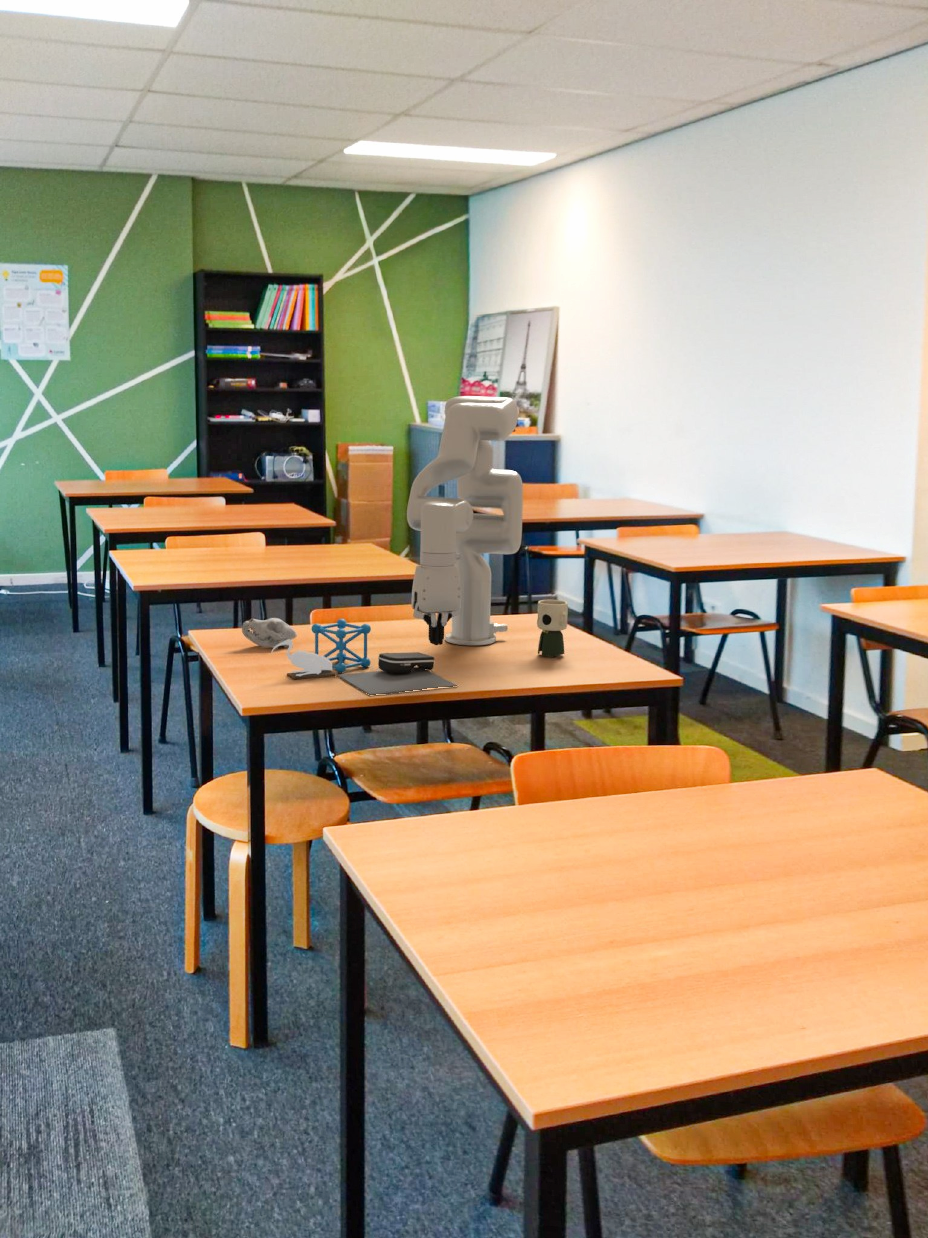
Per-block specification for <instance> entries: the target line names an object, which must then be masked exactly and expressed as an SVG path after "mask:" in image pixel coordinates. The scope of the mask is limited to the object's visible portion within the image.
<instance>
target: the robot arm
mask: <svg viewBox="0 0 928 1238" xmlns="http://www.w3.org/2000/svg"><path fill="white" fill-rule="evenodd" d="M444 415H445V417H444V422H443V423H444V424H443V429H442V432H441V439H440V442H439V443H440V444H439V447H438V448H439V449H438V454H437V457H436V458H434V459H433V460H432V461H430V462H428V463H427V465H426V466H425V467H424V468H423V469H422V470H421V471H419V473H418V474H417V476H416V477H415V478H414V480H413V482H412V484H411V488H410V492H409V498H408V503H407V507H406V508H407V509H406V520H407V524H408V526H409V527H410V528H411V529H413V530H415V531H419V532H420V552H419V555H420V557H419V565H416V566H415V569H414V575H413V576H414V577H413V581H412V589H411V608H412V609H413V610H414V611H413V614H412V616H413V618H416V619H418V620H423V621H424V622H425V623H426V624H427V625H428V640H429V643H430V644H431V645H434V646H439V645H443V643H444V640H445V641H446V642H448V643H449V644H452V645H453V644H454V645H457V646H459V645H460V646H485V645H491V644H494V643H495V642H496V640H497V636H496V635H495V634H496V633H498V632H499V633H503V632H508V629H509V628H508V625H507V623H500V624H498V623H494V622H492V621H491V607H492V606H491V605H492V604H491V602H492V601H491V597H492V596H491V595H492V569H491V567H490V564H489V563H488V562H487V560H486V559H485V557H484V556H483V555H484V554H491V555H492V554H494V555H495V554H496V555H513V554H516V553H517V552H518V551H519V549H521V548H520V547H521V544H522V535H523V534H522V533H523V511H524V508H523V507H524V504H523V503H524V486H523V480H522V477H521V475H520V473H518V472H517V471H514V470H511V469H497V468H496V469H495V468H494V447H493V445H492V442H493V441H494V442H500V441H505V440H506V439H507V438H508V437H509V436H510V435H511V434H512V433H513V432H514V431H515V429H516V428H517V424H518V419H519V409H518V406H517V403H516V401H515V400H514V399H513V398H511V397H504V396H502V397H501V396H480V395H479V396H476V395H459V396H454V397H451V398H449V399H448V400H446V402H445V406H444ZM491 441H492V442H491ZM455 479H456V480H457V486H456V487H457V488H456V489H457V491H456V492H457V498H456V497H455V498H454V497H441V496H439V497H438V496H437V497H436V496H427V495H428V494H429V492H430V491H432V490H433V489H434V488H436V487H438V486H440V485H442V484H445V483H447V482H450V481H452V480H455ZM473 508H474V509H489V510H490V509H492V510H493V509H494V510H500V511H502V514H489V513H474V510H473ZM482 554H483V555H482ZM450 620H451V632H448V633H446V634H445V627H446V626H447V625H448V622H449V621H450Z"/></svg>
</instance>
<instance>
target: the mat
mask: <svg viewBox="0 0 928 1238" xmlns="http://www.w3.org/2000/svg"><path fill="white" fill-rule="evenodd" d="M337 678H339V679H341V680H342V681H344V682H346V683H347V682H348V683H347V684H349V685H350V686H352V685H353V687H354V688H356V689H357V688H358V689H357V690H359V691H361V692H362V691H363V692H362V693H364V694H366V693H367V694H369V695H376V694H386V695H392V694H391V693H396V694H400V693H399V692H405V691H413V690H422V689H427V688H438V687H453V686H457V687H458V684H456V683H454V682H451V681H450V680H448V679H446V678H443V677H442V676H440V675H438V674H436V673H435V672H433V671H431V670H427V669H424V668H421V667H418V666H415V667H414V668H411V673H409V674H392V673H389V672H386V671H383V670H373V671H364V672H362V671H361V672H354V673H351V672H350V673H340V674H337ZM453 688H454V687H453ZM405 693H406V692H405ZM367 694H366V695H367ZM369 695H368V696H369Z"/></svg>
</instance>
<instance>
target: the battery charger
mask: <svg viewBox="0 0 928 1238" xmlns="http://www.w3.org/2000/svg"><path fill="white" fill-rule="evenodd" d="M377 657H378V663H377V664H378V669H379V670H380V671H386V672H389V673H392V674H409V673H411V668H414V667H421V668H424V669H426V670H428V671H432V670H433V669H434V665H435V657H434V656H432V655H429V654H426V653H423V652H386V653H385V652H383V653H382V652H381V653H379V654H378V656H377Z"/></svg>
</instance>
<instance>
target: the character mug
mask: <svg viewBox="0 0 928 1238" xmlns="http://www.w3.org/2000/svg"><path fill="white" fill-rule="evenodd" d="M568 607H569V603H568V601H565V600H560V599H542V600H538V602H537V610H536V612H537V621H536V626H537V628H538V629H539V630H542V631H541V633H540V636H539V640H538V645H537V654H538V655H540V653H541V656H542V657H553V658H556V657H557V656H561V655H565V644H564V635H563V632H562V631H564V630H567V627H568V611H569V610H568V609H569V608H568Z"/></svg>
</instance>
